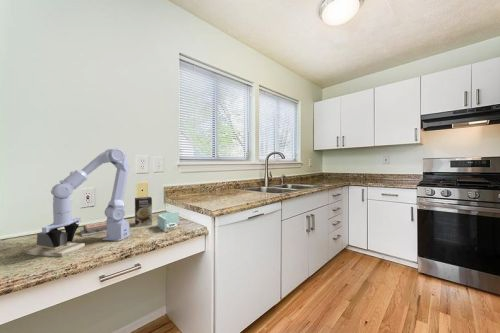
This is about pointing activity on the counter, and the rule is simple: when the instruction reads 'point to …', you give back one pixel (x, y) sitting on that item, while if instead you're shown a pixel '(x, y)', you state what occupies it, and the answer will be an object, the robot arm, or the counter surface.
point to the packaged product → (94, 229)
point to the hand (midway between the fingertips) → (63, 243)
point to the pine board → (57, 252)
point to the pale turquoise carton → (168, 221)
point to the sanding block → (46, 242)
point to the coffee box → (143, 211)
